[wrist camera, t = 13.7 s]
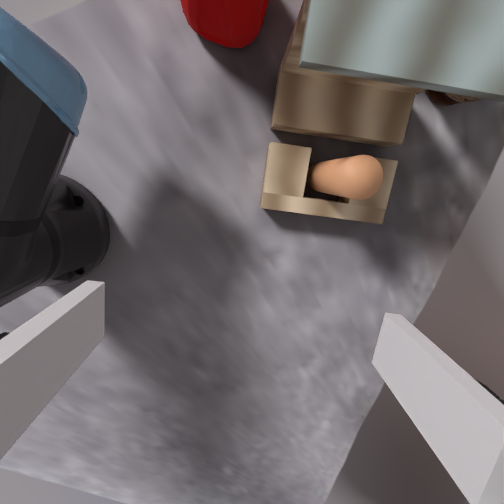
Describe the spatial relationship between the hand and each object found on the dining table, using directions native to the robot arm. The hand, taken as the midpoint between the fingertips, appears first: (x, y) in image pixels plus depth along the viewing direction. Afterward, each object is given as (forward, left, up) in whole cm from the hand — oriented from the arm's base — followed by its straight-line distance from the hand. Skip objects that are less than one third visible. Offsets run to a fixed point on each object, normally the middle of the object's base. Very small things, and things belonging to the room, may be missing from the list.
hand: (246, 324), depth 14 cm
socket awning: (+10, +12, -29) cm, 33 cm away
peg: (+10, +8, -29) cm, 31 cm away
